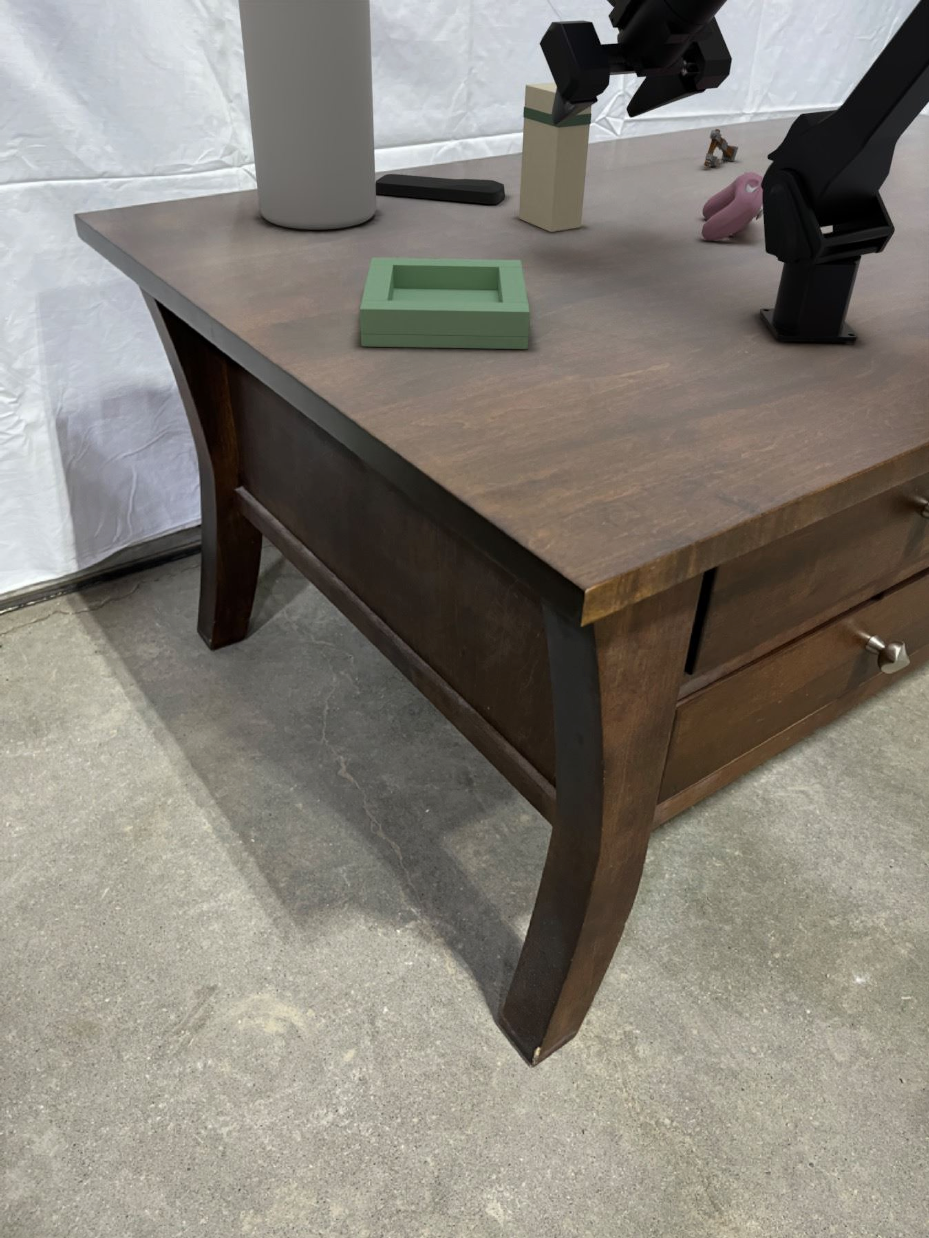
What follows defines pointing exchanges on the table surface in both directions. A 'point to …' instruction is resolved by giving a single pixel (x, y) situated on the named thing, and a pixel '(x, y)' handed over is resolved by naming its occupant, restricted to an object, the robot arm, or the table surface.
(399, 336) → the green rectangular tray
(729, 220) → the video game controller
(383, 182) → the remote control
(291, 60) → the cylinder vase
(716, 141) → the grey brown angular piece
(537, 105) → the cream rectangular block
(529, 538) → the table surface
